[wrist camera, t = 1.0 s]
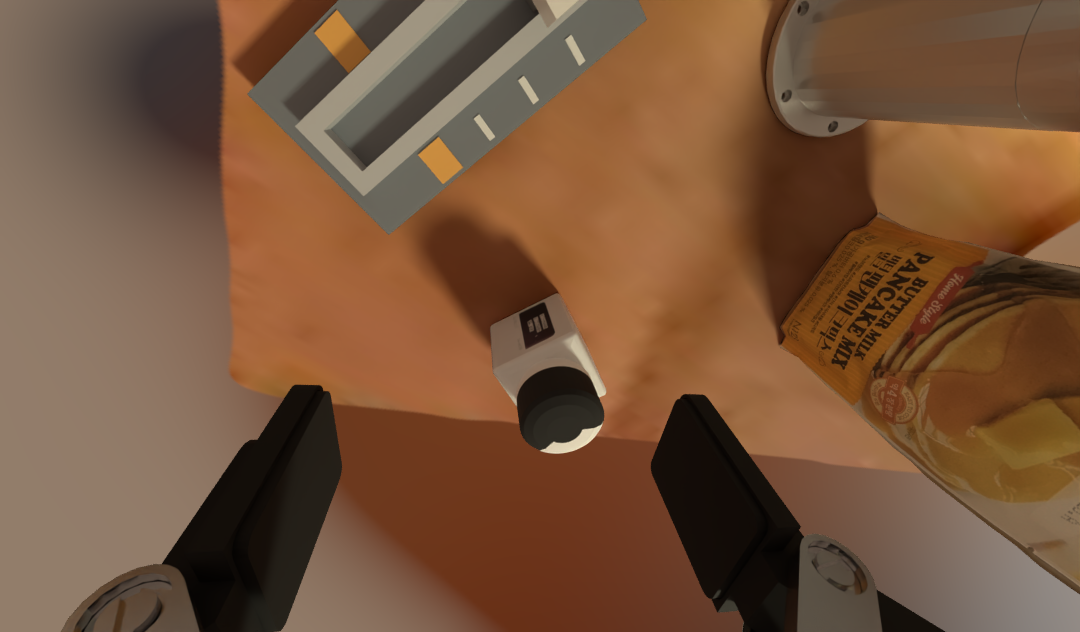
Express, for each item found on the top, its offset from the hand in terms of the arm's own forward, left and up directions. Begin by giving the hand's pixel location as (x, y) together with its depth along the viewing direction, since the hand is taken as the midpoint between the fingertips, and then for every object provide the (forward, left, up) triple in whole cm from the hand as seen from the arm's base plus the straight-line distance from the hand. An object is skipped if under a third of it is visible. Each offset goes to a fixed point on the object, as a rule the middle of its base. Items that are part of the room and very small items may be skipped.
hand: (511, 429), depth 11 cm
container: (+4, +14, -26) cm, 30 cm away
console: (-5, -9, -26) cm, 28 cm away
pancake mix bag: (-24, +30, -26) cm, 46 cm away
